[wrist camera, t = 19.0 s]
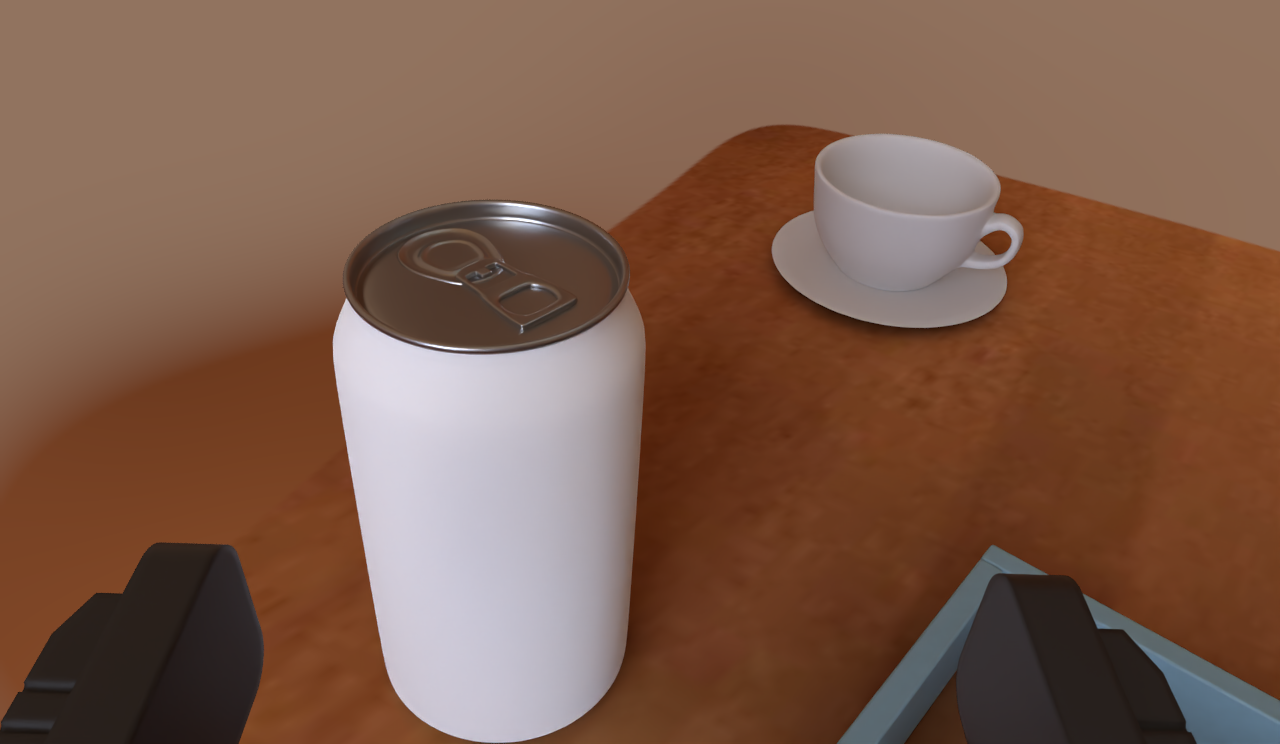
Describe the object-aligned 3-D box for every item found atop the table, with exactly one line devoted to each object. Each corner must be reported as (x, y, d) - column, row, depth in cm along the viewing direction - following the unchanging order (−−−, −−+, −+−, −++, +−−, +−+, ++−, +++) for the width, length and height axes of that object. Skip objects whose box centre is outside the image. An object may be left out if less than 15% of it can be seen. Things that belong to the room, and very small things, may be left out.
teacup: (732, 287, 42) (744, 186, 39) (821, 194, 49) (837, 102, 46) (968, 367, 38) (1001, 262, 35) (1028, 254, 45) (1060, 158, 42)
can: (518, 522, 31) (505, 162, 23) (675, 646, 27) (718, 270, 20) (336, 644, 27) (252, 259, 19) (493, 806, 23) (464, 413, 16)
